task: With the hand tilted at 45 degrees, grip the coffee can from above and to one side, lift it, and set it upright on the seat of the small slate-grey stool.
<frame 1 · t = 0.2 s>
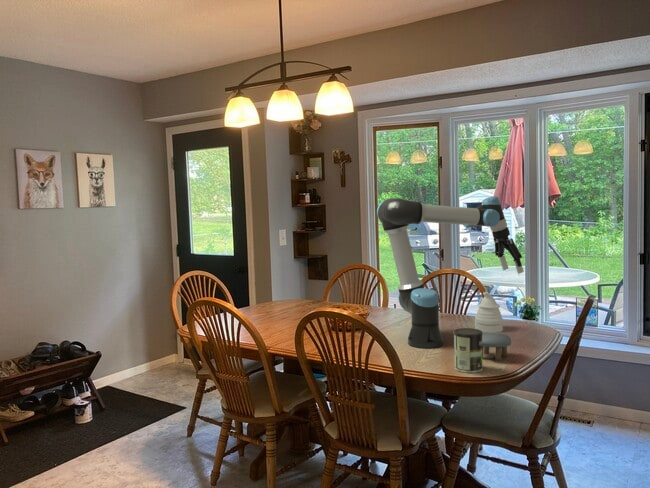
hand: (513, 271, 250), 28 cm above the table, tool tilted 20°, fingers open, 13 cm apart
white tapered piece: (488, 329, 253), on the table
stool: (492, 357, 209), on the table
coffee can: (468, 369, 196), on the table
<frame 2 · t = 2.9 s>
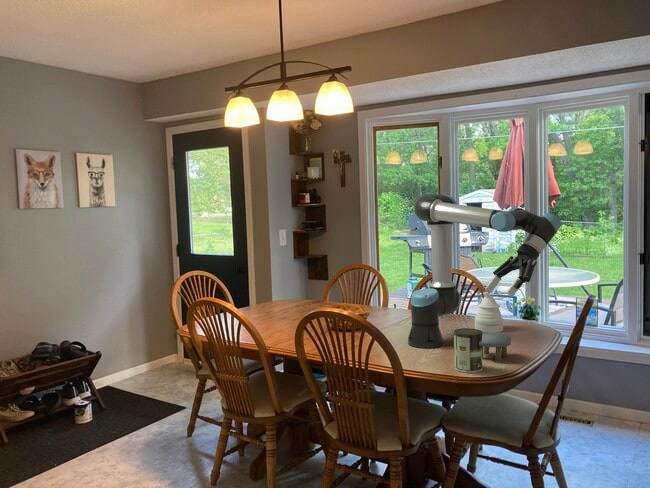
hand: (498, 292, 198), 27 cm above the table, tool tilted 45°, fingers open, 13 cm apart
nothing on the table moved.
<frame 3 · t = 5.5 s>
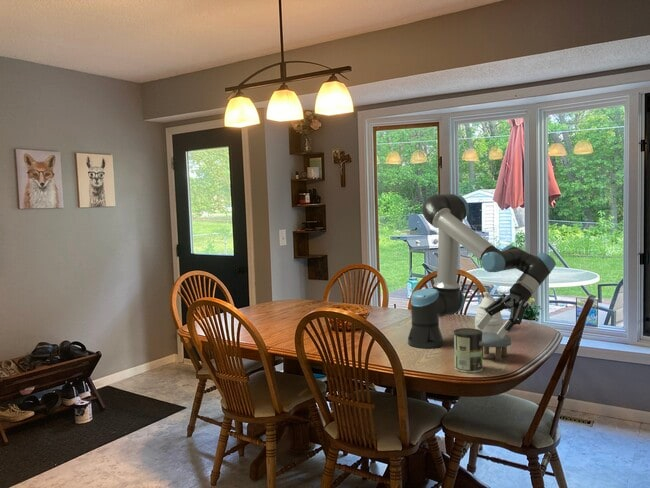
hand: (488, 332, 196), 13 cm above the table, tool tilted 45°, fingers open, 13 cm apart
nothing on the table moved.
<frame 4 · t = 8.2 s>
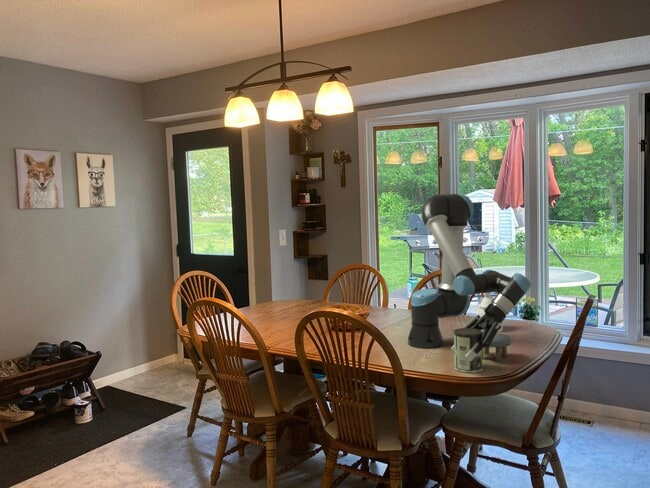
hand: (460, 354, 195), 6 cm above the table, tool tilted 45°, fingers closed on coffee can, 10 cm apart
coffee can: (468, 369, 196), on the table, touching gripper
everything else where it was.
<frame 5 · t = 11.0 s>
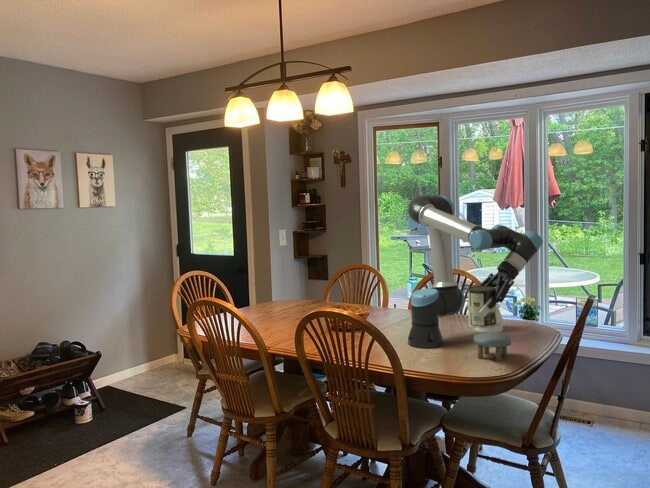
hand: (474, 311, 199), 20 cm above the table, tool tilted 45°, fingers closed on coffee can, 10 cm apart
coffee can: (482, 325, 200), point 15 cm above the table, touching gripper
everything else where it was.
when the fingers open (15 cm above the table, at t = 13.7 s): coffee can drops 1 cm, resting on stool.
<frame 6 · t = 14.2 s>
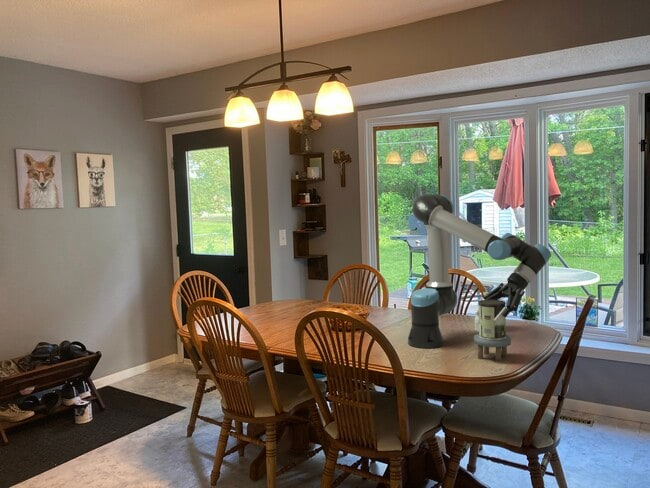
hand: (486, 318, 207), 16 cm above the table, tool tilted 45°, fingers open, 13 cm apart
coffee can: (492, 337, 208), point 8 cm above the table, touching stool
everything else where it was.
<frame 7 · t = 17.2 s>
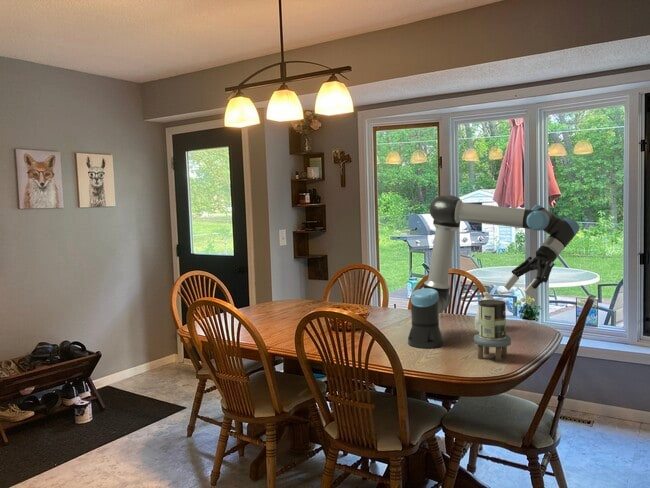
hand: (516, 291, 209), 26 cm above the table, tool tilted 45°, fingers open, 13 cm apart
nothing on the table moved.
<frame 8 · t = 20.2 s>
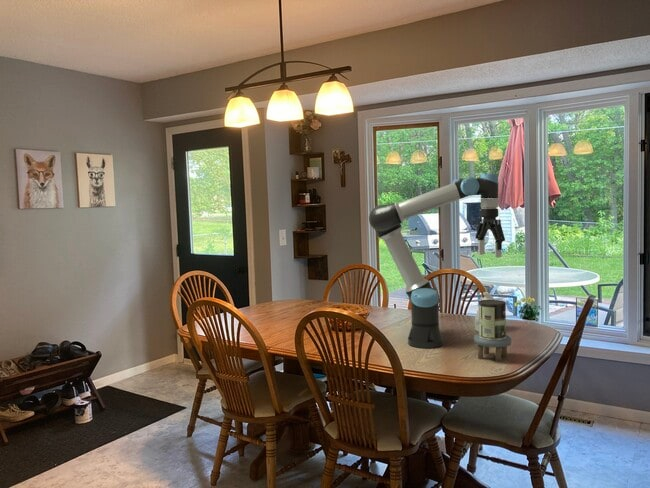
hand: (489, 255, 237), 37 cm above the table, tool pointing down, fingers open, 13 cm apart
nothing on the table moved.
at the end: coffee can inside the target area on the stool (0.2 cm from its centre), point 7.8 cm above the stool's base; coffee can tilted 0°; the gripper is holding nothing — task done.
